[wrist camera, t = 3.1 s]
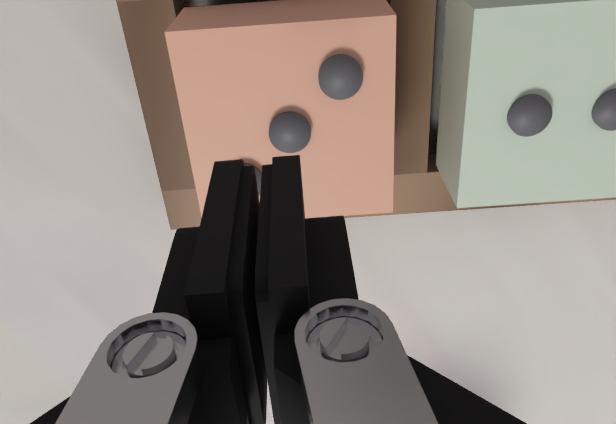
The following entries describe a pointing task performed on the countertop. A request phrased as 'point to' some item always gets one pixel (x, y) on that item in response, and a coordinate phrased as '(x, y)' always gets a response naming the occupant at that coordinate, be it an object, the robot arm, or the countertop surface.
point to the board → (408, 110)
